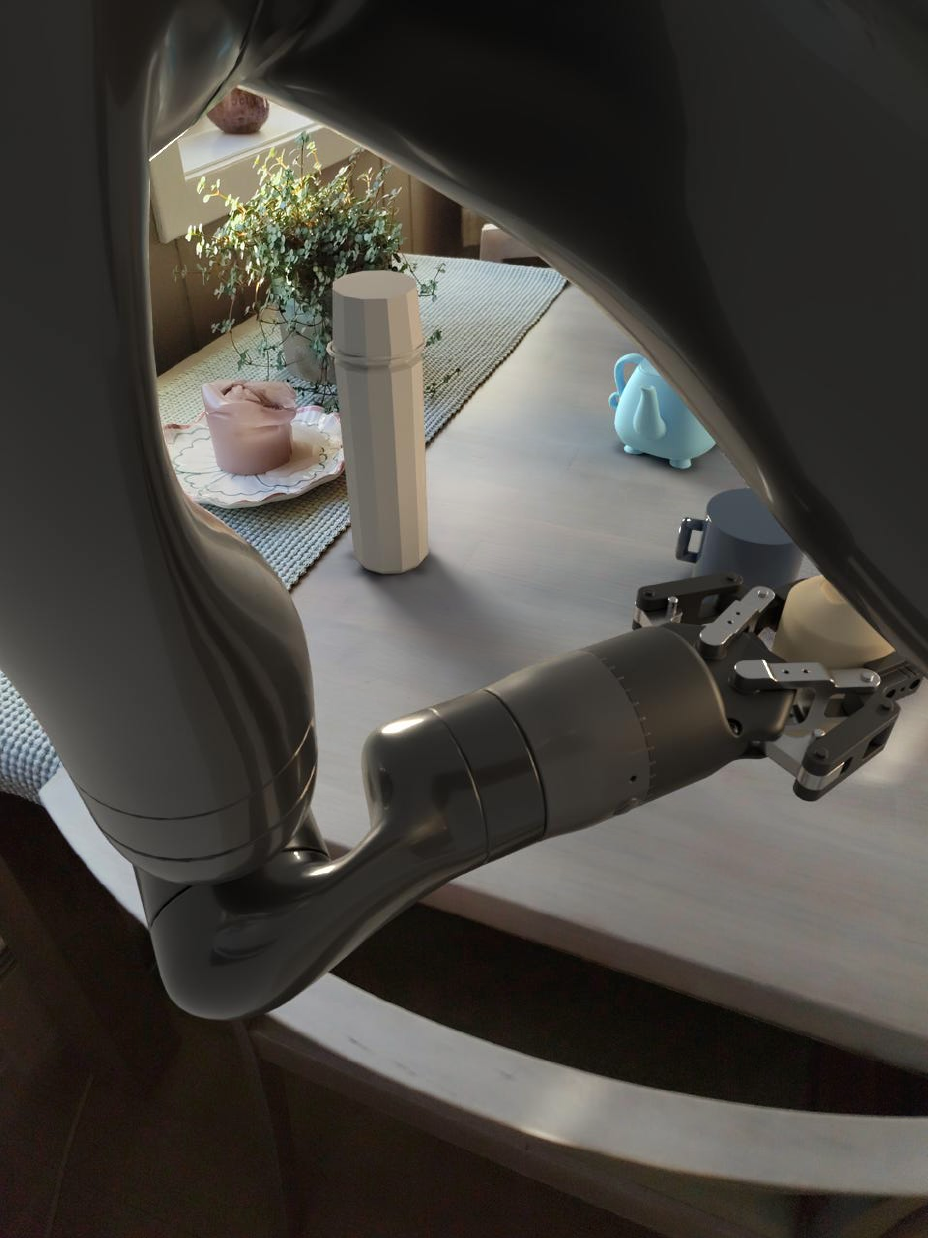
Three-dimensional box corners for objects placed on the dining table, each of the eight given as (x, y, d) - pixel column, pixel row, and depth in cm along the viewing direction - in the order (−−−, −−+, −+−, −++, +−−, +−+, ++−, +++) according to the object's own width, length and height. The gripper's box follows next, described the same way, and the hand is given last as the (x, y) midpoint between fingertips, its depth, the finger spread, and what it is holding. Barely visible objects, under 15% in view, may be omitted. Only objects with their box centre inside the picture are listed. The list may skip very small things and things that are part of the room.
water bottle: (444, 568, 80) (438, 293, 64) (361, 586, 77) (334, 307, 61) (413, 517, 86) (401, 256, 70) (336, 532, 84) (306, 268, 68)
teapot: (754, 477, 92) (778, 375, 85) (628, 485, 91) (641, 383, 84) (706, 412, 104) (723, 318, 97) (594, 419, 102) (603, 324, 95)
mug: (794, 574, 79) (816, 499, 74) (785, 631, 73) (809, 553, 68) (679, 550, 82) (693, 476, 77) (661, 603, 76) (675, 527, 70)
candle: (745, 690, 50) (786, 548, 44) (843, 699, 50) (899, 557, 43) (757, 761, 46) (804, 616, 40) (864, 772, 46) (929, 627, 39)
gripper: (711, 790, 32) (1024, 655, 37) (520, 579, 42) (791, 498, 47) (679, 905, 36) (961, 769, 42) (515, 691, 46) (761, 605, 52)
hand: (869, 626), depth 45 cm, fingers closed on candle, 5 cm apart
